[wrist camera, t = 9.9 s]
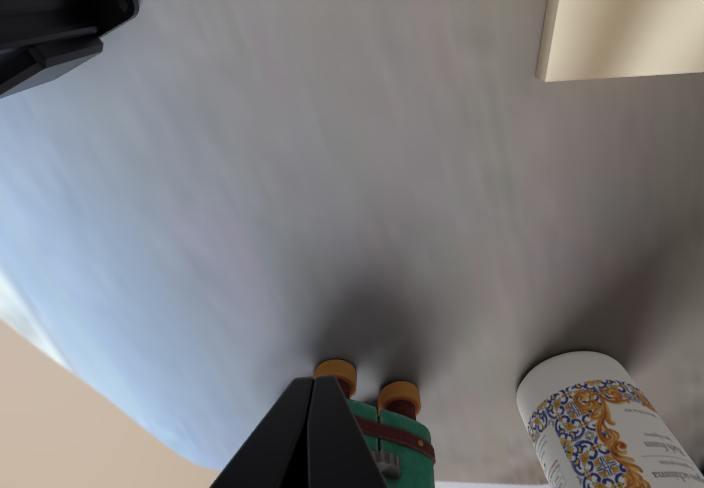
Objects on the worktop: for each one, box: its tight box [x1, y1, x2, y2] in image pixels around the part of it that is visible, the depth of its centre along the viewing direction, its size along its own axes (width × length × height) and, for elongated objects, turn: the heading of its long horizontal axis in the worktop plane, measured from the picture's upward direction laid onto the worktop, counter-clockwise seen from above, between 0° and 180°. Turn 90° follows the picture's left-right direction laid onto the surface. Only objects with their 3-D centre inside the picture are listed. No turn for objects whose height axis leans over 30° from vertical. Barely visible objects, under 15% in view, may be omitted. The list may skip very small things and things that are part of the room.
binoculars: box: [313, 359, 436, 488], centre depth 25 cm, size 9×11×10 cm
